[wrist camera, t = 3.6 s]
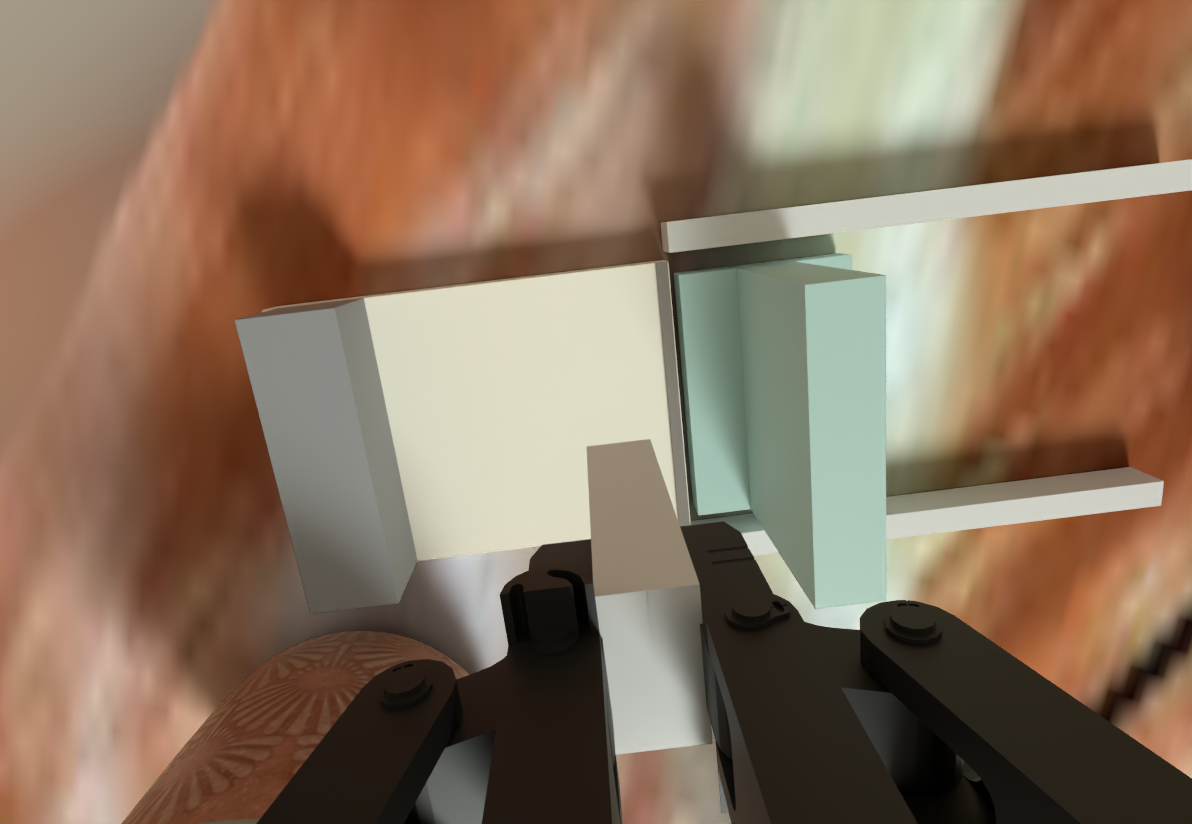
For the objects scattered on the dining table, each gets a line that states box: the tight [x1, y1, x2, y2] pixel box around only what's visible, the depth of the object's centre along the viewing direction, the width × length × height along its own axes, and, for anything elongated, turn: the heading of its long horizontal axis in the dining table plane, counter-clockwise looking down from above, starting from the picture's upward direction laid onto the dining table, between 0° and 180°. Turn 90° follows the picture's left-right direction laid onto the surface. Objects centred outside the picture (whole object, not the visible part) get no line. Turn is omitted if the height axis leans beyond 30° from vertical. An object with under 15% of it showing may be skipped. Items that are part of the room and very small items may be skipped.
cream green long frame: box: [235, 159, 1192, 614], centre depth 24 cm, size 32×13×4 cm, turn 97°
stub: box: [674, 253, 886, 609], centre depth 22 cm, size 6×9×8 cm, turn 7°
